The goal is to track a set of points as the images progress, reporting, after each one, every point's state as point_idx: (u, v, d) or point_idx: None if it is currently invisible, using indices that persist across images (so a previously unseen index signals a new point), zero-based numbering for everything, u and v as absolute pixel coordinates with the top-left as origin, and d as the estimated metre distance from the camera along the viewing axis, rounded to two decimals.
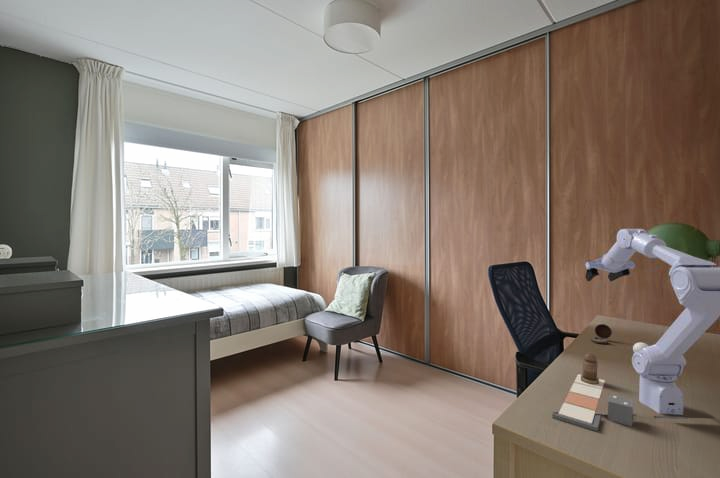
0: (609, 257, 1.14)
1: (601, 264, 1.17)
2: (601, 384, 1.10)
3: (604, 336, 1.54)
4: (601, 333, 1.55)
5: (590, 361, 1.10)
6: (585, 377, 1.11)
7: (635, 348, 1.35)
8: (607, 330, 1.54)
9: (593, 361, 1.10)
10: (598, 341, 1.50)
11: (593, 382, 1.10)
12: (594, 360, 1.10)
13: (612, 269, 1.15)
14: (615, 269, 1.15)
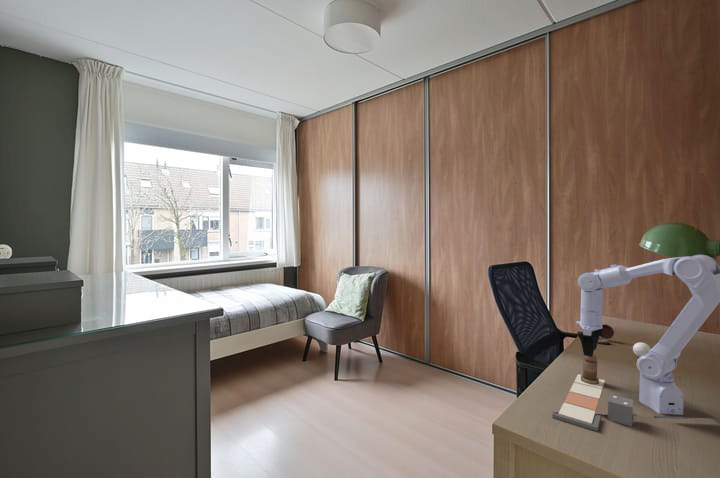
0: (591, 312, 1.09)
1: (590, 326, 1.09)
2: (601, 384, 1.10)
3: (606, 336, 1.54)
4: (603, 333, 1.55)
5: (590, 361, 1.10)
6: (585, 377, 1.11)
7: (635, 348, 1.35)
8: (609, 330, 1.53)
9: (593, 361, 1.10)
10: (599, 341, 1.50)
11: (593, 382, 1.10)
12: (594, 360, 1.10)
13: (600, 324, 1.09)
14: (601, 322, 1.09)
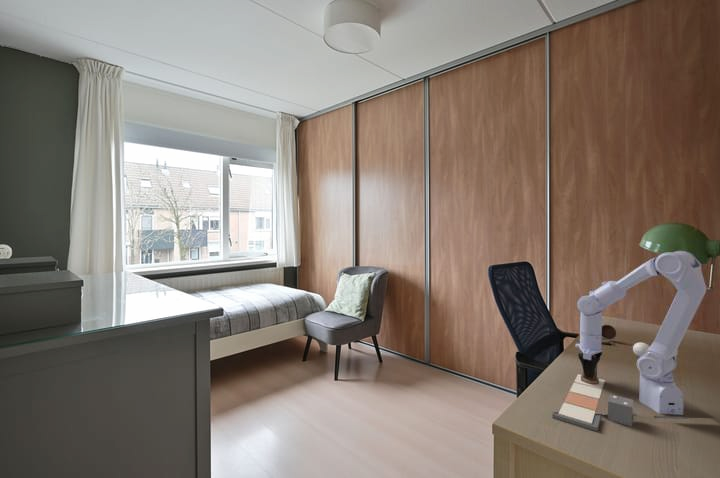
0: (591, 335, 1.09)
1: (589, 349, 1.09)
2: (601, 384, 1.10)
3: (609, 337, 1.53)
4: (606, 334, 1.54)
5: None
6: (585, 377, 1.11)
7: (635, 348, 1.35)
8: (612, 331, 1.52)
9: None
10: None
11: (593, 382, 1.10)
12: None
13: (600, 347, 1.09)
14: None
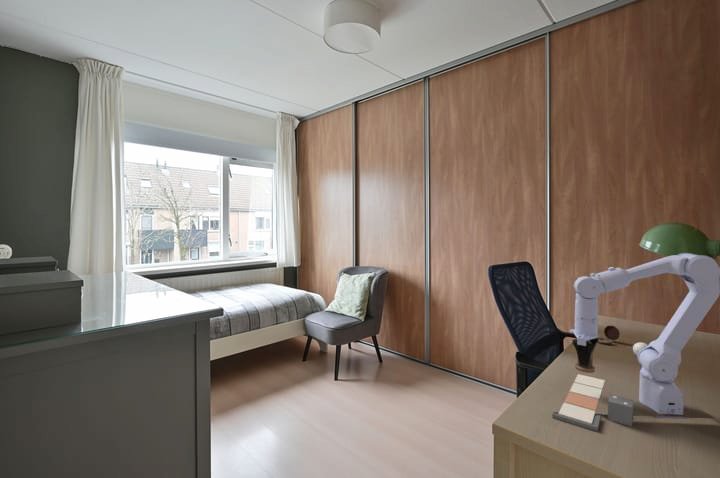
0: (586, 320, 1.01)
1: (584, 335, 1.01)
2: (601, 384, 1.10)
3: (612, 338, 1.52)
4: (610, 334, 1.53)
5: None
6: (580, 365, 1.04)
7: (635, 348, 1.35)
8: (615, 332, 1.51)
9: None
10: (601, 341, 1.50)
11: (588, 370, 1.02)
12: None
13: (596, 332, 1.01)
14: (597, 331, 1.02)
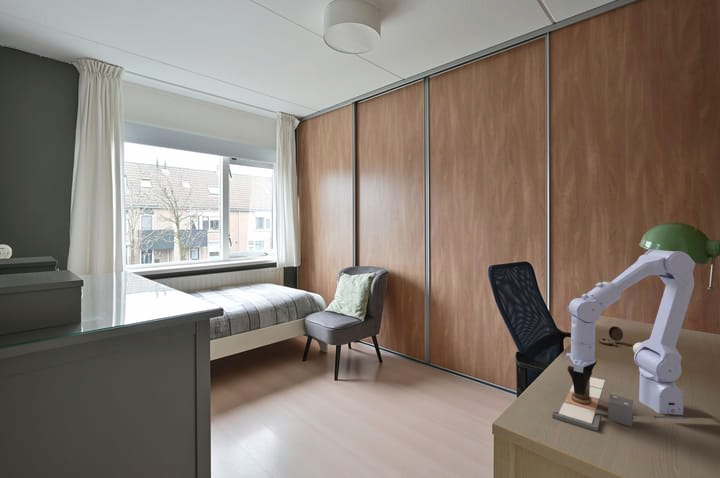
0: (583, 344, 0.97)
1: (581, 360, 0.97)
2: (601, 384, 1.10)
3: (616, 339, 1.51)
4: (614, 335, 1.52)
5: None
6: (576, 396, 0.99)
7: (635, 348, 1.35)
8: (619, 333, 1.50)
9: None
10: (602, 341, 1.50)
11: (585, 402, 0.97)
12: None
13: (593, 358, 0.97)
14: (594, 356, 0.97)
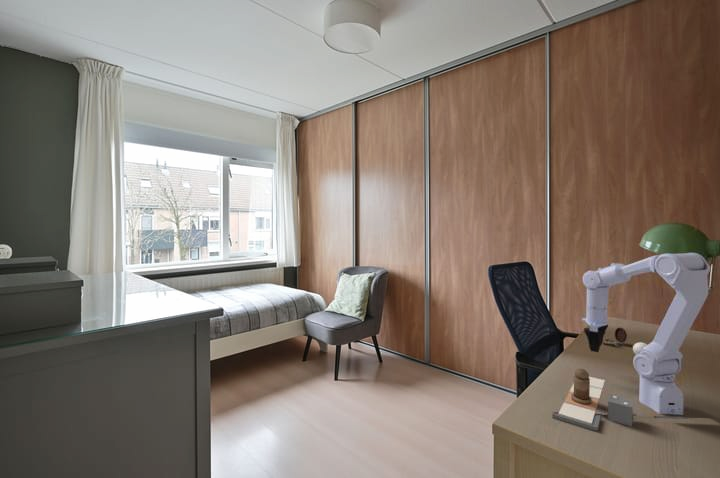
0: (597, 309, 1.13)
1: (595, 323, 1.13)
2: (601, 384, 1.10)
3: (621, 340, 1.49)
4: (619, 337, 1.50)
5: (582, 378, 0.98)
6: (576, 396, 0.99)
7: (635, 348, 1.35)
8: (623, 334, 1.48)
9: (585, 378, 0.98)
10: (604, 342, 1.49)
11: (585, 402, 0.97)
12: (586, 377, 0.98)
13: (606, 320, 1.13)
14: (606, 319, 1.14)
